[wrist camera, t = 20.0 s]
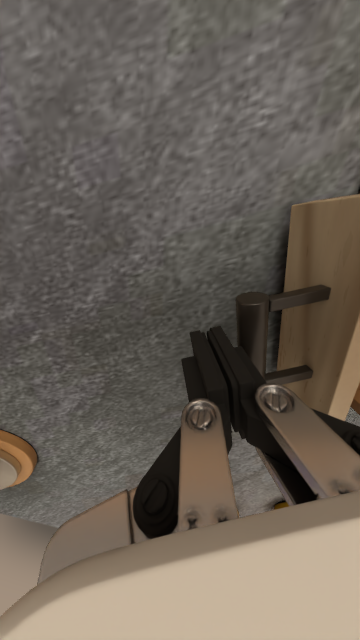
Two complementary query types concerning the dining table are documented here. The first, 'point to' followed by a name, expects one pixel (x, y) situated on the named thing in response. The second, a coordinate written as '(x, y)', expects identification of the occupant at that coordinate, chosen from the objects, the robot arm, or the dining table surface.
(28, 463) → the disc
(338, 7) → the dining table surface
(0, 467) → the rod on disc base
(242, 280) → the dining table surface
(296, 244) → the drawer
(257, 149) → the dining table surface
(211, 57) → the dining table surface
